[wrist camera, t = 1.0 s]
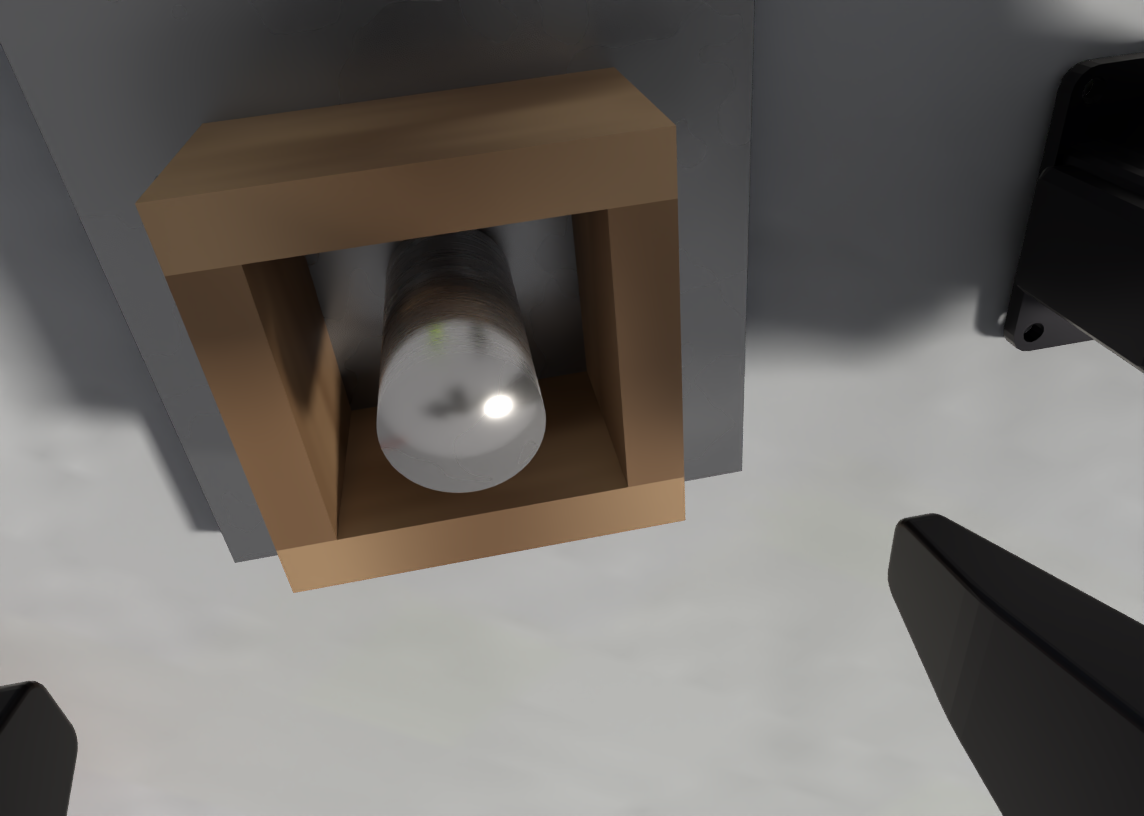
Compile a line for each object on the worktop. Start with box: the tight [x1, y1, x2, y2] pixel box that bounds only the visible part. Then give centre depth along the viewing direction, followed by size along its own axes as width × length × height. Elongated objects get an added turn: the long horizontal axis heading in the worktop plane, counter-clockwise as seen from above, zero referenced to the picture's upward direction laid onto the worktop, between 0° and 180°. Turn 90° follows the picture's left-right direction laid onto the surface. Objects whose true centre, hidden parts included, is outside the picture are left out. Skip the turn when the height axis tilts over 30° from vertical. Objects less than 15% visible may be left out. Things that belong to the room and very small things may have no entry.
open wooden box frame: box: [135, 67, 685, 593], centre depth 14 cm, size 7×7×4 cm
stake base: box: [0, 0, 755, 563], centre depth 14 cm, size 12×12×6 cm
